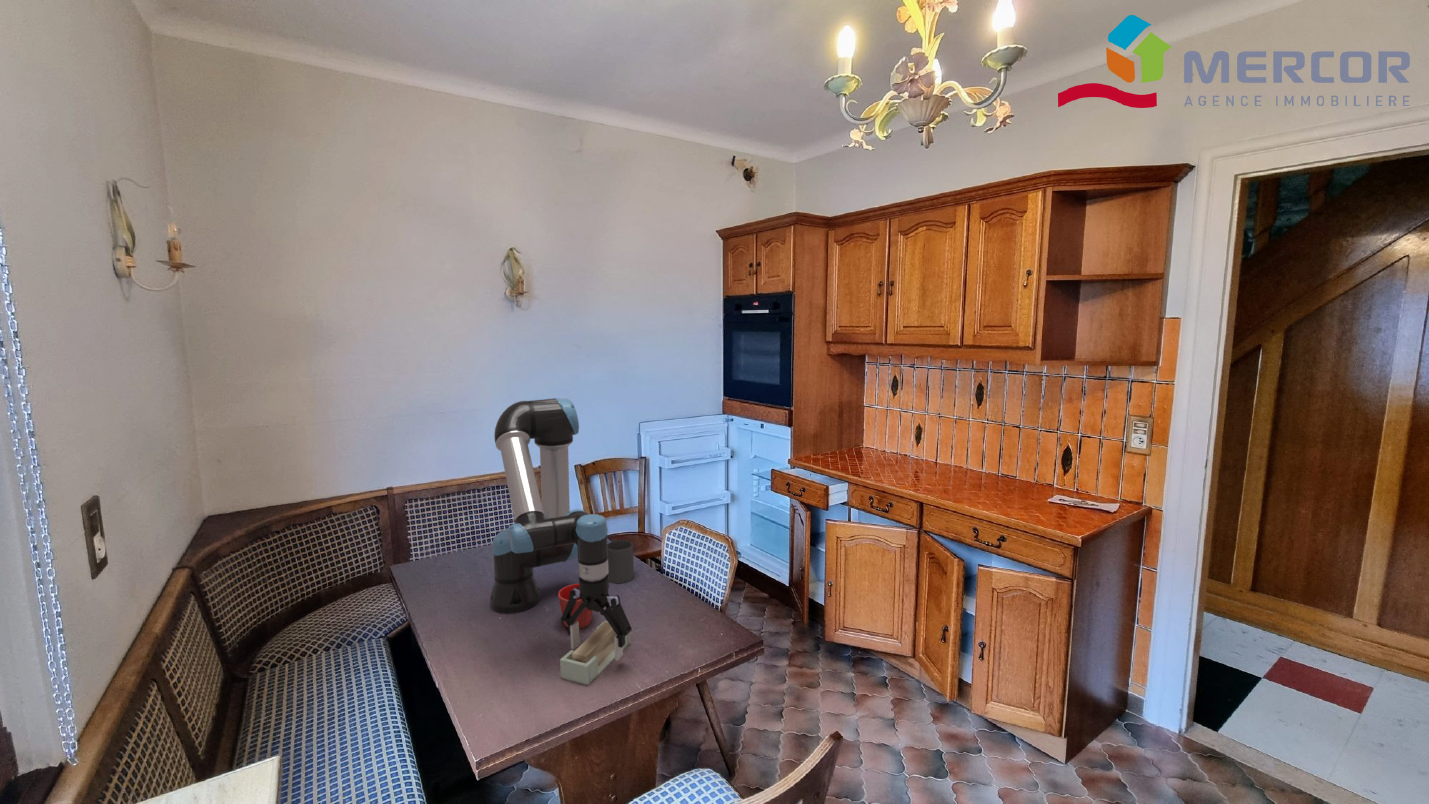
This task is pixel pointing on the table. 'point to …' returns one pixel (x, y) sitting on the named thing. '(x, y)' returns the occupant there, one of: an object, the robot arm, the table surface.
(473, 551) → the table surface
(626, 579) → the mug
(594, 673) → the green tray
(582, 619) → the flower pot
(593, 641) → the wooden block
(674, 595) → the table surface
